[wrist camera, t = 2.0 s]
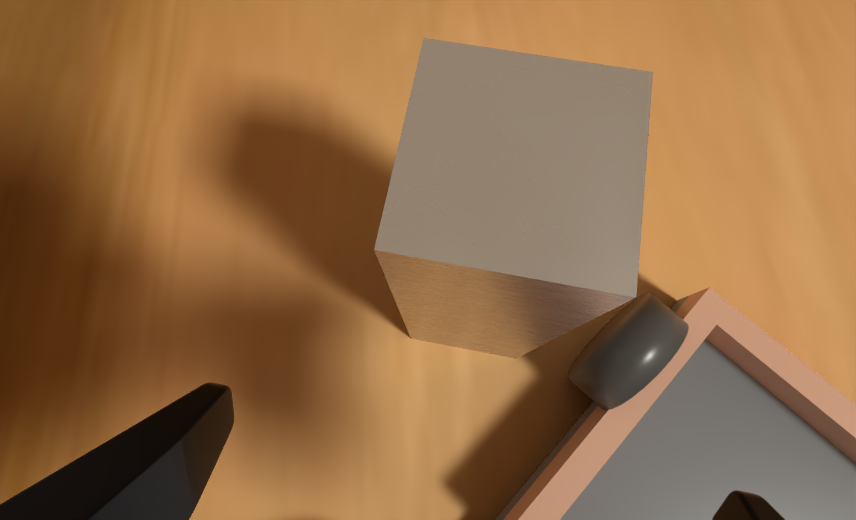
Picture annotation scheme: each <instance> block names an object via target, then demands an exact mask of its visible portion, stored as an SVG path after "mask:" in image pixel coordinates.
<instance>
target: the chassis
mask: <svg viewBox="0 0 856 520" xmlns="http://www.w3.org/2000/svg"><path fill="white" fill-rule="evenodd" d="M568 378H569V379H570V380H571V381H572V382H573V383H574V384H575V385H576V386H577V387H579V388H580V389H581V390H582V391H583V392H584V393H585V394H586V395H587V396H588V397H589V398H591V399H592V400H593V402H592V403H591V405H590V406H589V407H588V408H587V409H586V411H585V412H584V413H583V414H582V415H581V417H580V418H579V419H578V420H577V421H576V423H575V424H574V425H573V426H572V427H571V429H570V430H569V431H568V432H567V433H566V435H565V436H564V437H563V438H562V439H561V441H560V442H559V443H558V444H557V445H556V447H555V448H554V449H553V450H552V451H551V452H550V454H549V455H548V456H547V457H546V458H545V460H544V461H543V462H542V463H541V464H540V466H539V467H538V468H537V469H536V470H535V472H534V473H533V474H532V475H531V476H530V478H529V479H528V480H527V481H526V482H525V484H524V485H523V486H522V487H521V488H520V490H519V491H518V492H517V493H516V494H515V496H514V497H513V498H512V499H511V500H510V502H509V503H508V504H507V505H506V506H505V508H504V509H503V510H502V511H501V512H500V513H499V515H498V516H497V517H496V518H495V519H494V520H712V519H713V516H714V515H715V513H716V512H717V510H718V509H719V507H720V506H721V505H722V503H723V502H724V500H725V499H726V497H727V496H728V495H729V493H730V492H732V491H734V490H739V491H744V492H748V493H753V494H757V495H759V496H761V497H763V498H764V499H765V500H766V501H767V502H768V503H769V504H770V505H771V506H772V507H773V508H774V509H775V510H776V511H777V512H778V513H779V514H780V515H781V516H782V517H783V518H784V519H785V520H856V404H855V403H853V402H852V401H851V400H850V399H848V398H847V397H846V396H845V395H843V394H842V393H841V392H840V391H838V390H837V389H836V388H835V387H833V386H832V385H831V384H830V383H828V382H827V381H826V380H825V379H823V378H822V377H821V376H820V375H818V374H817V373H816V372H815V371H814V370H812V369H811V368H810V367H809V366H807V365H806V364H805V363H804V362H802V361H801V360H800V359H799V358H797V357H796V356H795V355H794V354H792V353H791V352H790V351H789V350H787V349H786V348H785V347H784V346H782V345H781V344H780V343H779V342H777V341H776V340H775V339H774V338H772V337H771V336H770V335H769V334H767V333H766V332H765V331H764V330H762V329H761V328H760V327H759V326H757V325H756V324H755V323H754V322H752V321H751V320H750V319H749V318H747V317H746V316H745V315H744V314H742V313H741V312H740V311H739V310H737V309H736V308H735V307H734V306H732V305H731V304H730V303H729V302H727V301H726V300H725V299H724V298H722V297H721V296H720V295H719V294H717V293H716V292H715V291H714V290H712V289H711V288H710V287H709V288H707V289H704V290H702V291H699V292H697V293H695V294H692V295H690V296H687V297H685V298H682V299H680V300H678V301H677V302H676V303H675V304H674V305H673V307H672V308H671V309H670V308H668V307H667V306H666V305H665V304H664V303H662V302H661V301H660V300H659V299H658V298H656V297H655V296H654V295H653V294H652V293H650V292H647V293H644V294H642V295H641V296H639V297H638V298H636V299H635V300H633V301H632V302H631V303H629V304H628V305H627V306H626V307H625V308H623V309H622V310H621V311H620V312H619V313H618V314H617V315H615V316H614V317H613V318H612V319H611V320H610V321H609V322H608V323H607V324H606V325H605V326H604V327H603V328H602V329H601V330H600V331H599V332H598V333H597V335H596V336H595V337H594V338H593V339H592V340H591V341H590V342H589V344H588V345H587V346H586V347H585V348H584V350H583V351H582V352H581V353H580V355H579V356H578V357H577V359H576V360H575V362H574V363H573V365H572V367H571V368H570V370H569V373H568Z"/></svg>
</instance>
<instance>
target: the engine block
mask: <svg viewBox="0 0 856 520" xmlns="http://www.w3.org/2000/svg"><path fill="white" fill-rule="evenodd" d="M652 77H653V72H648V71H642V70H635V69H628V68H621V67H615V66H608V65H601V64H595V63H588V62H581V61H574V60H568V59H561V58H554V57H547V56H541V55H534V54H527V53H521V52H514V51H507V50H500V49H494V48H487V47H480V46H474V45H467V44H460V43H453V42H447V41H440V40H433V39H427V38H424V39H423V44H422V48H421V52H420V56H419V61H418V65H417V69H416V73H415V78H414V82H413V86H412V90H411V95H410V99H409V103H408V107H407V112H406V116H405V120H404V124H403V129H402V133H401V137H400V141H399V146H398V150H397V154H396V158H395V163H394V167H393V171H392V175H391V180H390V184H389V188H388V192H387V197H386V201H385V205H384V209H383V214H382V218H381V222H380V226H379V231H378V235H377V239H376V243H375V248H374V251H375V254H376V256H377V258H378V261H379V263H380V266H381V268H382V270H383V273H384V275H385V278H386V280H387V282H388V285H389V287H390V290H391V292H392V294H393V297H394V299H395V302H396V304H397V306H398V309H399V311H400V314H401V316H402V318H403V321H404V323H405V326H406V328H407V330H408V333H409V335H410V338H413V339H418V340H423V341H428V342H433V343H438V344H444V345H449V346H454V347H459V348H464V349H469V350H475V351H480V352H485V353H490V354H495V355H500V356H506V357H511V358H518V357H520V356H522V355H524V354H526V353H528V352H530V351H532V350H534V349H536V348H538V347H540V346H542V345H544V344H545V343H547V342H549V341H551V340H553V339H555V338H557V337H559V336H561V335H563V334H565V333H567V332H569V331H571V330H573V329H575V328H577V327H579V326H581V325H583V324H585V323H587V322H589V321H591V320H593V319H595V318H597V317H599V316H601V315H603V314H605V313H607V312H609V311H611V310H612V309H614V308H616V307H618V306H620V305H622V304H624V303H626V302H628V301H630V300H632V299H634V298H636V294H637V281H638V267H639V254H640V240H641V227H642V213H643V199H644V186H645V172H646V159H647V145H648V132H649V118H650V105H651V91H652Z"/></svg>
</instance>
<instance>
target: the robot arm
mask: <svg viewBox="0 0 856 520" xmlns="http://www.w3.org/2000/svg"><path fill="white" fill-rule="evenodd" d="M233 423H234V410H233V401H232V393H231V389H230V388H229V387H228V386H226V385H221V384H216V383H206V384H203V385H202V386H200V387H198V388H197V389H195V390H193V391H191V392H190V393H188V394H186V395H185V396H183V397H181V398H180V399H178V400H176V401H175V402H173V403H171V404H169V405H168V406H166V407H164V408H163V409H161V410H159V411H158V412H156V413H154V414H153V415H151V416H149V417H147V418H146V419H144V420H142V421H141V422H139V423H137V424H136V425H134V426H132V427H131V428H129V429H127V430H125V431H124V432H122V433H120V434H119V435H117V436H115V437H114V438H112V439H110V440H109V441H107V442H105V443H103V444H102V445H100V446H98V447H97V448H95V449H93V450H92V451H90V452H88V453H87V454H85V455H83V456H81V457H80V458H78V459H76V460H75V461H73V462H71V463H70V464H68V465H66V466H65V467H63V468H61V469H59V470H58V471H56V472H54V473H53V474H51V475H49V476H48V477H46V478H44V479H43V480H41V481H39V482H37V483H36V484H34V485H32V486H31V487H29V488H27V489H26V490H24V491H22V492H21V493H19V494H17V495H15V496H14V497H12V498H10V499H9V500H7V501H5V502H4V503H2V504H0V520H189V518H190V517H191V515H192V513H193V511H194V509H195V507H196V505H197V503H198V501H199V499H200V497H201V495H202V493H203V491H204V488H205V486H206V484H207V482H208V480H209V478H210V475H211V473H212V471H213V469H214V467H215V465H216V462H217V460H218V458H219V456H220V454H221V452H222V449H223V447H224V445H225V443H226V441H227V439H228V436H229V434H230V432H231V430H232V427H233ZM712 520H785V519H784V518H783V517H782V516H781V515H780V514H779V513H778V512H777V511H776V510H775V509H774V508H773V507H772V506H771V505H770V504H769V503H768V502H767V501H766V500H765V499H764V498H763V497H761V496H759V495H757V494H753V493H748V492H744V491H739V490H734V491H732V492H730V493H729V495H728V496H727V497H726V499H725V500H724V502H723V503H722V505H721V506H720V507H719V509H718V510H717V512H716V513H715V515H714V516H713V519H712Z"/></svg>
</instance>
